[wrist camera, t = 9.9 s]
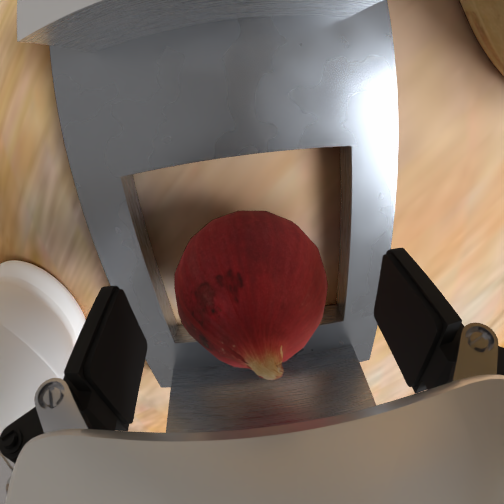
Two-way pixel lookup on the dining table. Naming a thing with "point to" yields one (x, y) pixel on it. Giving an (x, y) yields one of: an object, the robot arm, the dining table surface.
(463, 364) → the robot arm
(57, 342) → the jar
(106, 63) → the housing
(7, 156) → the dining table surface
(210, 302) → the onion
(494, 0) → the ceramic vessel
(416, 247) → the dining table surface
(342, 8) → the door
